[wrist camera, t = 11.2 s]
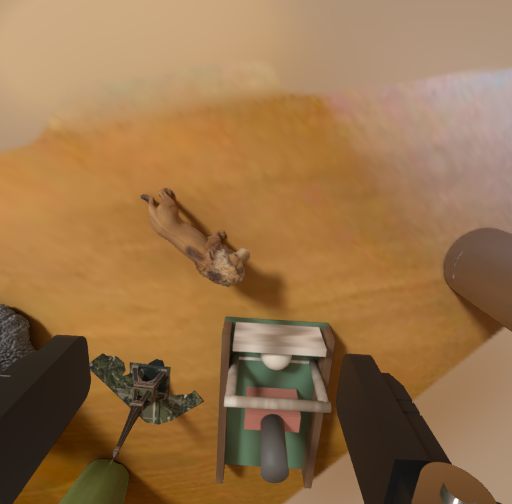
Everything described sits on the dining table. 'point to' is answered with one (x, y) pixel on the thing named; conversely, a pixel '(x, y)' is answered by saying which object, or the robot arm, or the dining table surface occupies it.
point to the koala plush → (13, 337)
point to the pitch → (259, 375)
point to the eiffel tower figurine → (142, 391)
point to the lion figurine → (197, 243)
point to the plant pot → (99, 484)
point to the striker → (272, 431)
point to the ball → (276, 360)
